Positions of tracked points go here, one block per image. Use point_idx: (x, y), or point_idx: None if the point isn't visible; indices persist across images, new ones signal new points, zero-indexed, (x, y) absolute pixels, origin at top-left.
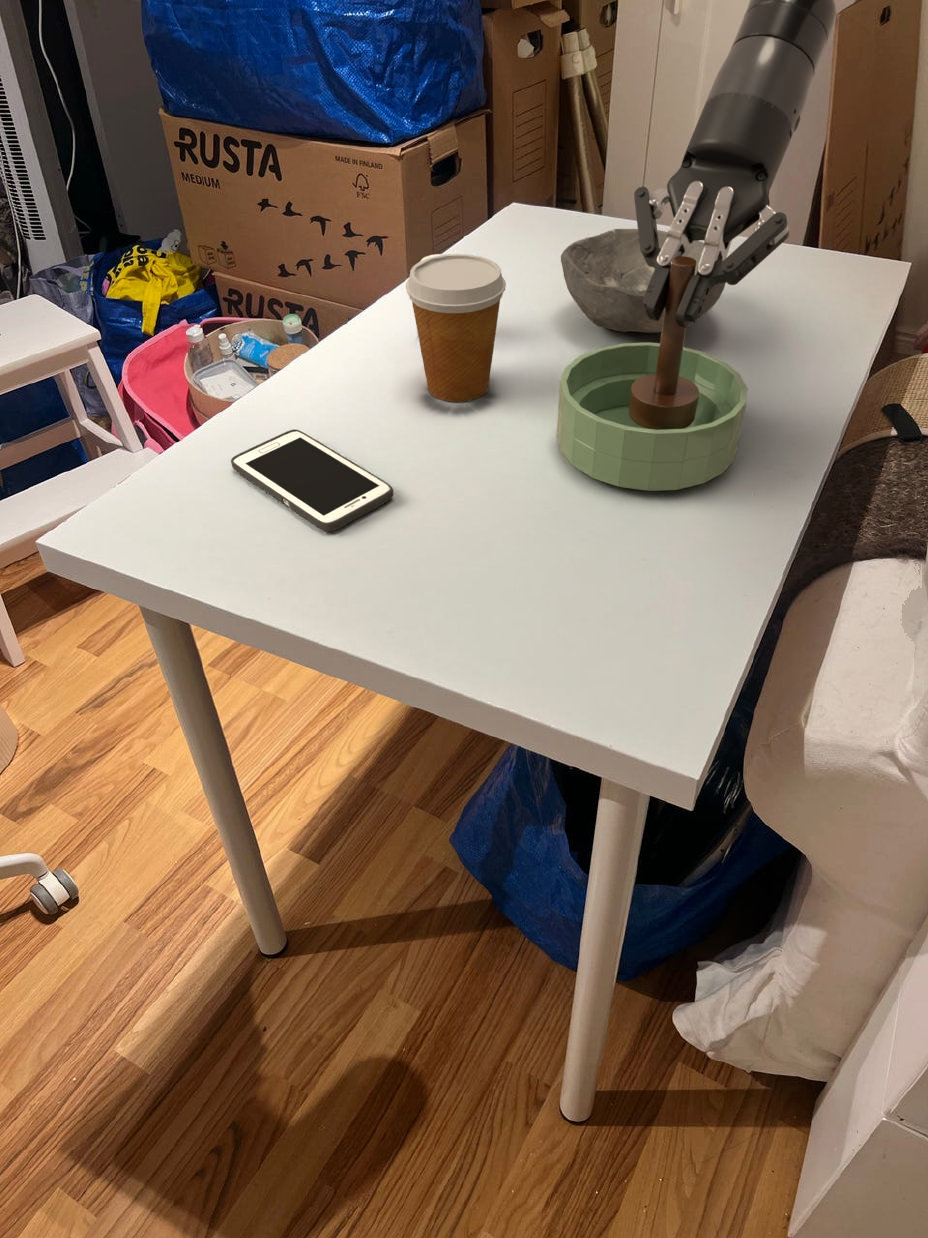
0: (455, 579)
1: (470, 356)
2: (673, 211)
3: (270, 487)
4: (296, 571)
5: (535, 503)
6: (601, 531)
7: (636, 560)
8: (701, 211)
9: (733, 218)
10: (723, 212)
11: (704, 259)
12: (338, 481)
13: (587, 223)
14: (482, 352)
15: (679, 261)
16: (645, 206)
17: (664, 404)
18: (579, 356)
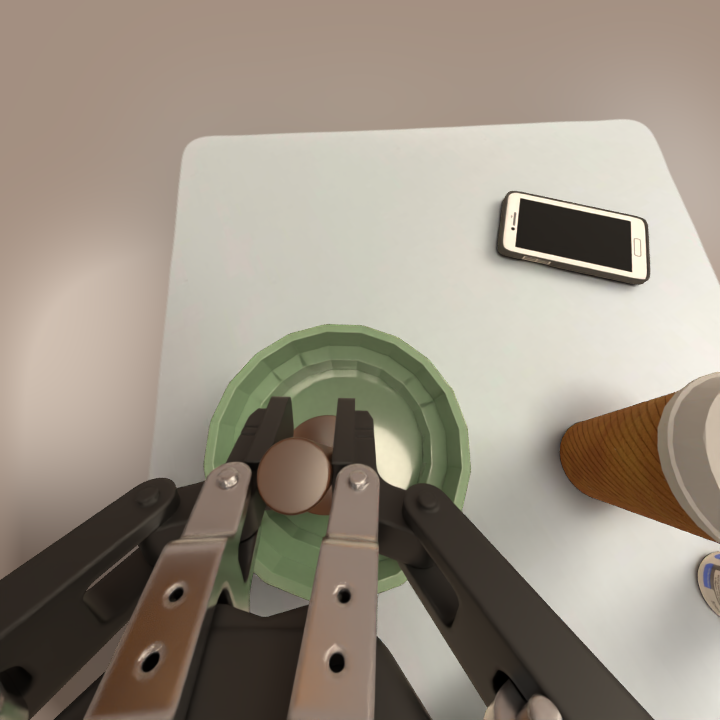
0: (392, 202)
1: (604, 426)
2: (413, 694)
3: (584, 206)
4: (491, 163)
5: (391, 305)
6: (321, 298)
7: (279, 278)
8: (263, 717)
9: (83, 711)
10: (120, 703)
11: (232, 497)
12: (547, 236)
13: None
14: (600, 445)
15: (304, 465)
16: (554, 672)
17: (312, 423)
18: (469, 471)
